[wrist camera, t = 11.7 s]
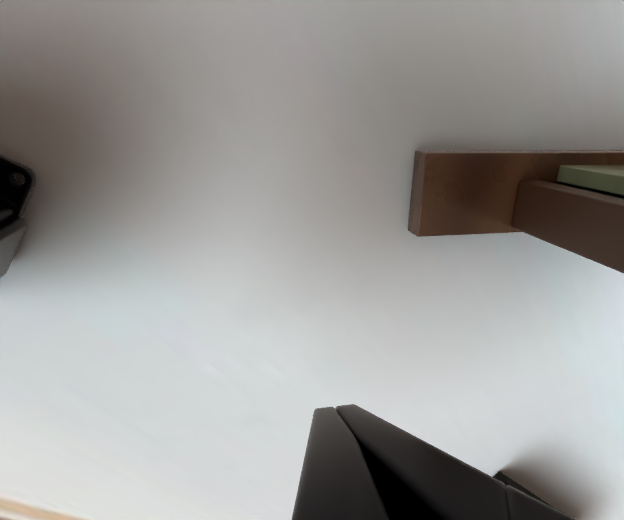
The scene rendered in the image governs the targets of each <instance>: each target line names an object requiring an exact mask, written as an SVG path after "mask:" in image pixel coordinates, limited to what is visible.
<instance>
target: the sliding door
mask: <svg viewBox="0 0 624 520" xmlns="http://www.w3.org/2000/svg"><path fill="white" fill-rule="evenodd" d="M512 227H513V228H515V229H517V230H520V231H522V232H524V233H527V234H529V235H532V236H534V237H537V238H539V239H542V240H544V241H546V242H549V243H551V244H554V245H556V246H559V247H561V248H563V249H566V250H568V251H571V252H573V253H576V254H578V255H581V256H583V257H585V258H588V259H590V260H593V261H595V262H598V263H600V264H603V265H605V266H607V267H610V268H612V269H615V270H617V271H620V272H622V273H624V196H623V195H618V194H614V193H609V192H605V191H600V190H595V189H577V188H573V187H569V186H564V185H560V184H555V183H551V182H546V181H542V180H524V181H520V184H519V190H518V196H517V201H516V207H515V212H514V218H513V223H512Z"/></svg>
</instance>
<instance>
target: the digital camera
mask: <svg viewBox="0 0 624 520" xmlns="http://www.w3.org/2000/svg"><path fill="white" fill-rule="evenodd" d="M494 478H495V479H497V480H498V481H500V482H502V483H504V485H505V487H506V486H507V485H509V486H511V487H513V488H515V489H517V490H519V491H521V492H523V493H525V494H527V495H528V496H530V497H532V498H534V499H536V500H538V501H540V502H542V503H544V504H546V505H548V506H550V505H549V504H547V503H546V502H544V501H543V500H541V499H540V498H538V497H537V496H535V495H534V494H532V493H531V492H529V491H528V490H526V489H525V488H523V487H522V486H520V485H519V484H517V483H516V482H515V481H513V480H512V479H510V478H509V477H507V476H506V475H504V474H503V473H501V472H499V473H498V474H497V475H496V476H495V477H494ZM550 507H552V506H550ZM552 508H553V507H552ZM554 509H555V508H554Z"/></svg>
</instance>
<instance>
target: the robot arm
mask: <svg viewBox="0 0 624 520" xmlns="http://www.w3.org/2000/svg"><path fill="white" fill-rule="evenodd" d="M16 173H21V174H22V175H23V176H24V177H25V183H24V184H22V183H19V182H18V181H17V180H16V178H15V175H16ZM35 182H36V177H35V174H34V172H33V171H32V170H31V169H30V168H28V167H27V166H24V165H22V164H20V163H18V162H16V161H14V160H12V159H10V158H7V157H5V156H3V155H1V154H0V277H2V276H3V275H4V274H6V272H7V270H8V268H9V266H10V263H11V261H12V259H13V256H14V254H15V252H16V249H17V247H18V245H19V242H20V240H21V238H22V236H23V233H24V231H25V229H26V226H27V224H26V222H25V219H24V218H22V217H21V216H22V213H23V211H24V209H25V206H26V204H27V202H28V199H29V197H30V195H31V192H32V190H33V188H34V185H35ZM292 520H577V519H575V518H572V517H570V516H568V515H566V514H564V513H562V512H560V511H558V510H556V509H554V508H552V507H550V506H548V505H546V504H544V503H542V502H540V501H538V500H536V499H534V498H532V497H530V496H528V495H527V494H525V493H523V492H521V491H519V490H517V489H515V488H513V487H511V486H509V485H507V486H506V487H505V485H504V483H502V482H500V481H498V480H497V479H495V478H493V477H491V476H489V475H487V474H485V473H483V472H481V471H480V470H478V469H476V468H474V467H472V466H470V465H468V464H466V463H464V462H463V461H461V460H459V459H457V458H455V457H453V456H451V455H449V454H447V453H445V452H444V451H442V450H440V449H438V448H436V447H434V446H432V445H430V444H428V443H427V442H425V441H423V440H421V439H419V438H417V437H415V436H413V435H411V434H410V433H408V432H406V431H404V430H402V429H400V428H398V427H396V426H394V425H392V424H391V423H389V422H387V421H385V420H383V419H381V418H379V417H377V416H375V415H374V414H372V413H370V412H368V411H366V410H364V409H362V408H360V407H358V406H357V405H354V404H351V405H342V406H337V407H336V408H333V407H326V408H318V409H315V411H314V414H313V419H312V424H311V429H310V434H309V438H308V443H307V448H306V453H305V458H304V463H303V468H302V472H301V477H300V482H299V487H298V492H297V497H296V501H295V506H294V511H293V516H292Z"/></svg>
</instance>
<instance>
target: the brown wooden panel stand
mask: <svg viewBox="0 0 624 520" xmlns="http://www.w3.org/2000/svg"><path fill="white" fill-rule="evenodd" d="M524 180H542V181H546V182H551V183H555V184H560V185H564V186H569V187H573V188H577V189H595V190H600V191H605V192H609V193H614V194H618V195H623V196H624V150H545V151H415V160H414V170H413V181H412V192H411V202H410V213H409V223H408V231H410V232H411V233H413V234H414V235H416V236H418V237H419V236H442V235H464V234H486V233H508V232H522V231H520V230H517V229H515V228H513V227H512V223H513V218H514V212H515V207H516V201H517V196H518V190H519V184H520V181H524Z"/></svg>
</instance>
